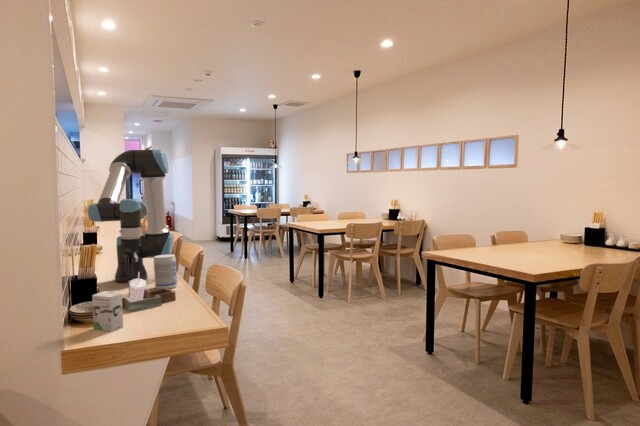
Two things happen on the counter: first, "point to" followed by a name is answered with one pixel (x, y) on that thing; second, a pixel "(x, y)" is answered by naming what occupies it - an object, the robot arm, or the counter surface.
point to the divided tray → (149, 300)
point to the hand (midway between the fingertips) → (132, 295)
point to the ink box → (107, 311)
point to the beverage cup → (137, 289)
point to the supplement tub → (165, 271)
